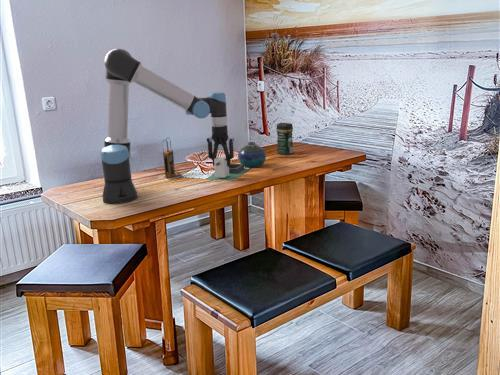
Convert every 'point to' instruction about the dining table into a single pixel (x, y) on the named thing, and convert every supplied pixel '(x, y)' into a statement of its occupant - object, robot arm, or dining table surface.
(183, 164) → the dining table surface
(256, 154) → the vase
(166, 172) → the multimeter
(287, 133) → the coffee jar
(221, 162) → the plug
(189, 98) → the robot arm
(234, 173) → the board
